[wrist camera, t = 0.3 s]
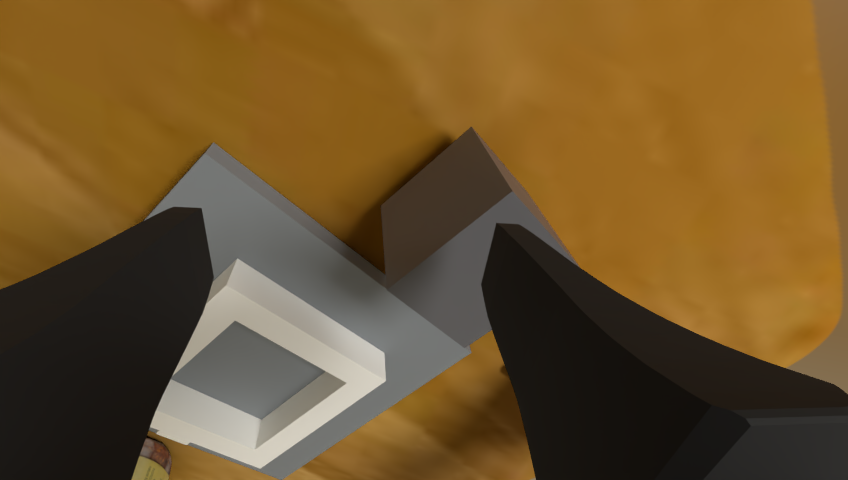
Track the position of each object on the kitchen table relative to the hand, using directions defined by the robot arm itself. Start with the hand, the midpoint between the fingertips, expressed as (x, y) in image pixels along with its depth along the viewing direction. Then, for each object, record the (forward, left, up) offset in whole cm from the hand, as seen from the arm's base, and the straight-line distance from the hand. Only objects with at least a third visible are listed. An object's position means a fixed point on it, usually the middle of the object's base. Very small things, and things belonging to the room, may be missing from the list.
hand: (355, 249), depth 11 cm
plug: (-5, -1, -10) cm, 11 cm away
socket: (-5, +14, -10) cm, 18 cm away
